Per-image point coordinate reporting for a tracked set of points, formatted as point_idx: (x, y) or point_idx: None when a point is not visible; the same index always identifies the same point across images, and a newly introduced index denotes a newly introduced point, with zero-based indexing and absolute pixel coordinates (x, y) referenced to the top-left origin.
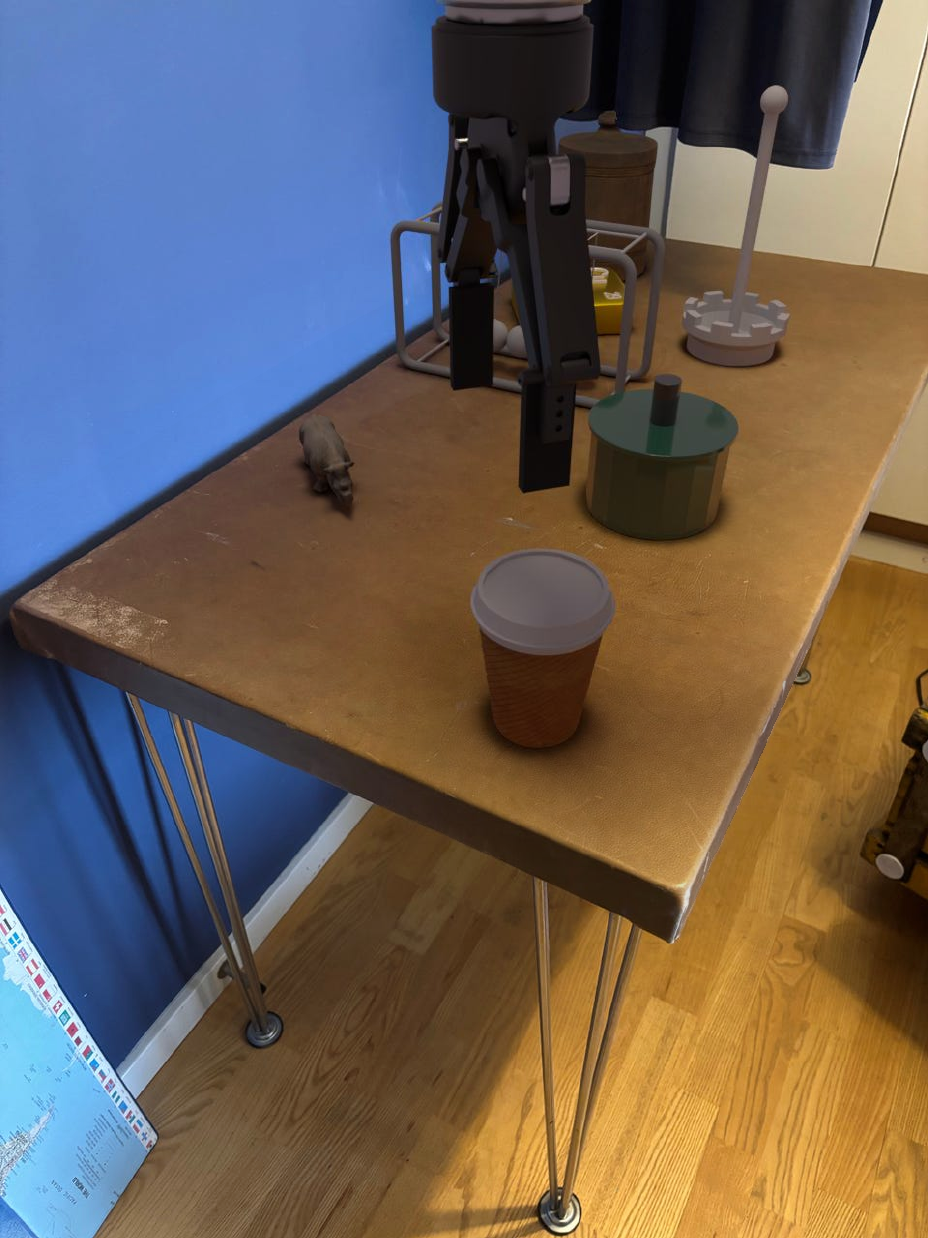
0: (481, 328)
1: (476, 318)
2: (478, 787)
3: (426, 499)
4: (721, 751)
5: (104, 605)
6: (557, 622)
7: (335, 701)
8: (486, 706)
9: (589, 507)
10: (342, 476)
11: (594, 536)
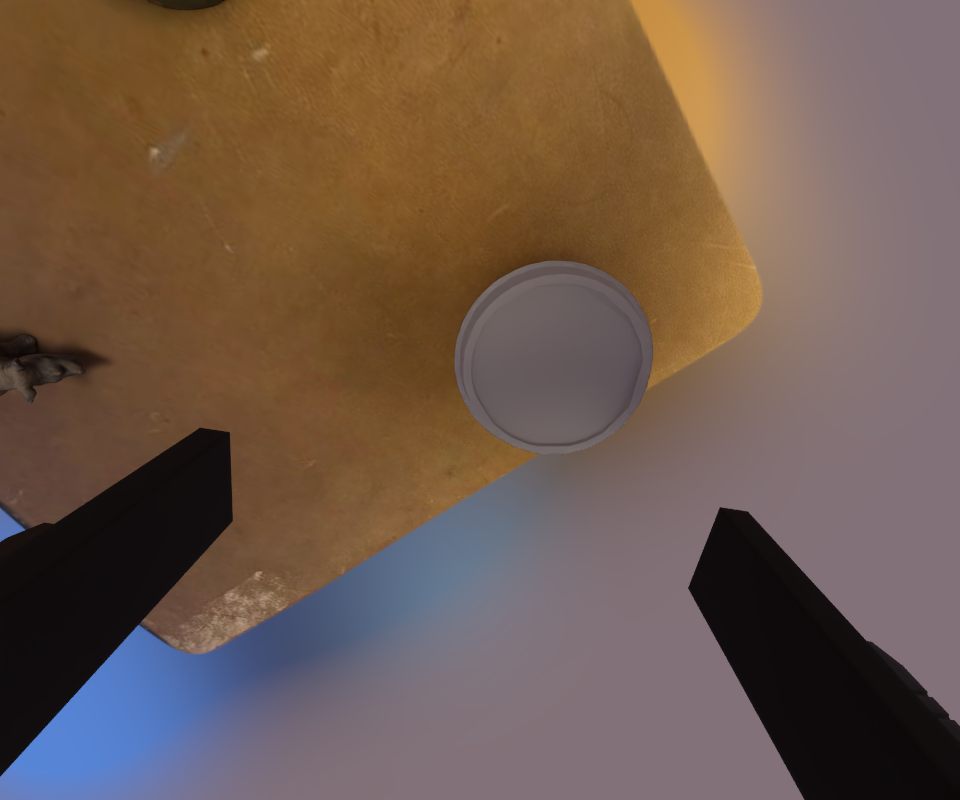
0: (114, 561)
1: (85, 604)
2: None
3: (76, 247)
4: (678, 162)
5: (217, 609)
6: (635, 393)
7: (426, 479)
8: None
9: (154, 2)
10: (37, 372)
11: (233, 43)
